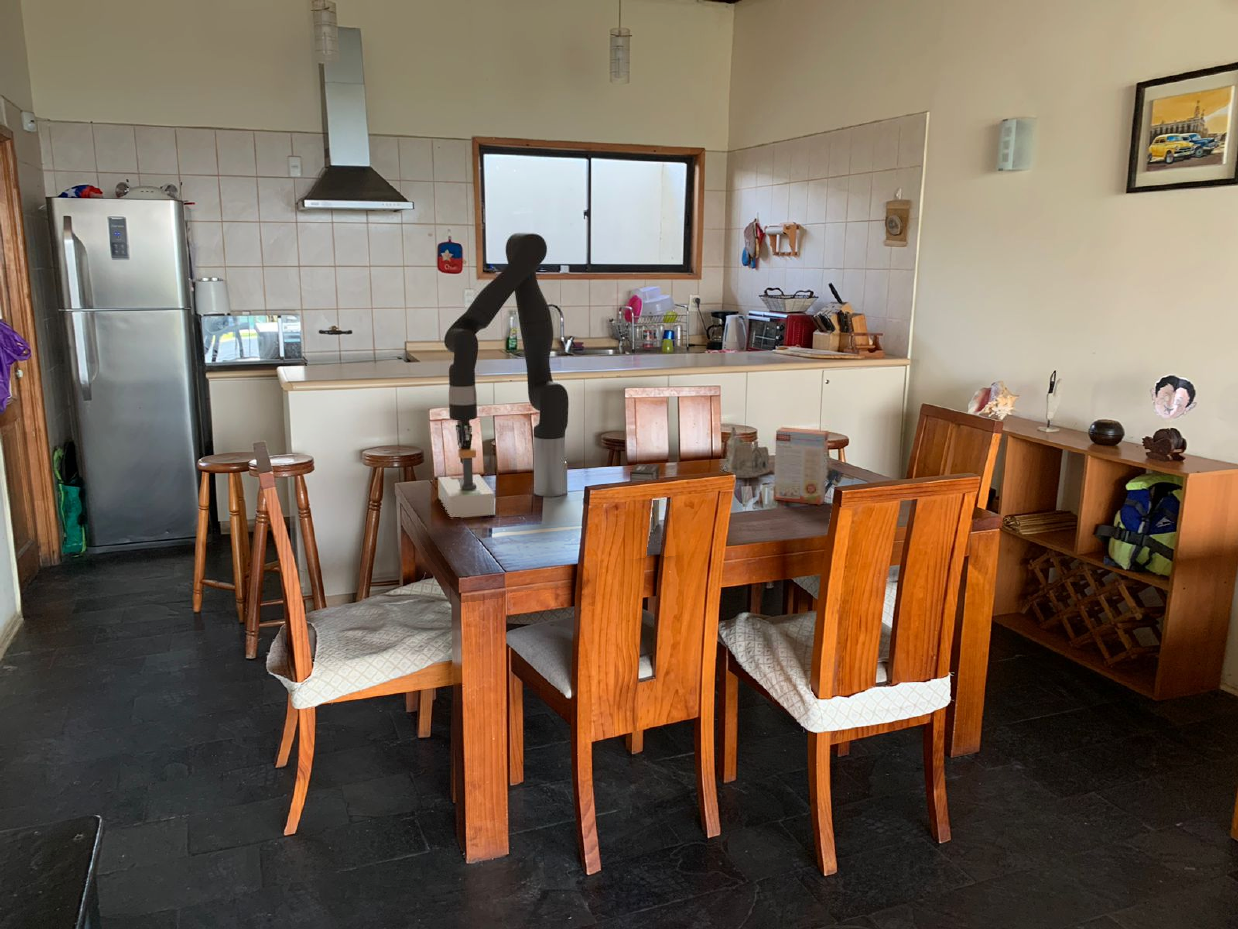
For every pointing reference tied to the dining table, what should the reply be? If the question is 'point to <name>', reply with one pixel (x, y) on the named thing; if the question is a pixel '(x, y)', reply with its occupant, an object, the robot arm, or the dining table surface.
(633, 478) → the coffee box
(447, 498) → the switch panel
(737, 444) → the ceramic cottage
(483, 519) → the dining table surface
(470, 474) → the breaker knob
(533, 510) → the dining table surface
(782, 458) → the cracker box
